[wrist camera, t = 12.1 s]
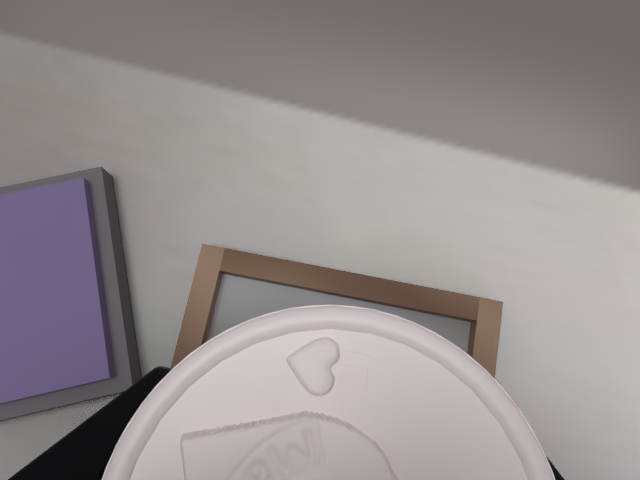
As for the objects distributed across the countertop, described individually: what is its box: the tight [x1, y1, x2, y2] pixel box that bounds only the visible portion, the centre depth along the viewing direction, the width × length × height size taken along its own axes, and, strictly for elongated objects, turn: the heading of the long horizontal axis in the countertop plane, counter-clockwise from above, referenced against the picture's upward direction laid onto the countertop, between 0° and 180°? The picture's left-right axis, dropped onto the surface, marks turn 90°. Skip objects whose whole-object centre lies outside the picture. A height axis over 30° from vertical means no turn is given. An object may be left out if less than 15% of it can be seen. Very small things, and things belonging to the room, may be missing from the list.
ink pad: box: [0, 167, 141, 421], centre depth 18 cm, size 8×8×2 cm
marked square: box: [171, 244, 503, 378], centre depth 17 cm, size 11×11×1 cm
